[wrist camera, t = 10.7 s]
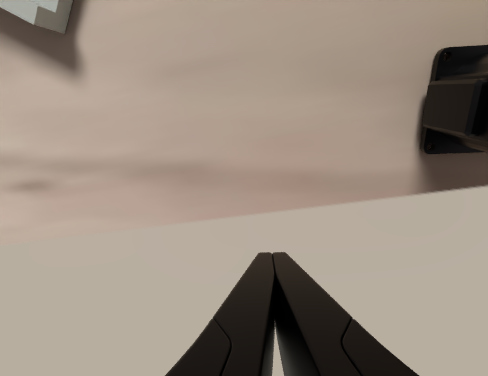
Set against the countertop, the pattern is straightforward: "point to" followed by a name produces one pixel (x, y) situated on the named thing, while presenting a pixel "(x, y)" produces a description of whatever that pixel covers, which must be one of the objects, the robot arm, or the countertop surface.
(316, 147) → the countertop surface
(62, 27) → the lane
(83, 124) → the countertop surface
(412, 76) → the countertop surface
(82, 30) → the countertop surface
